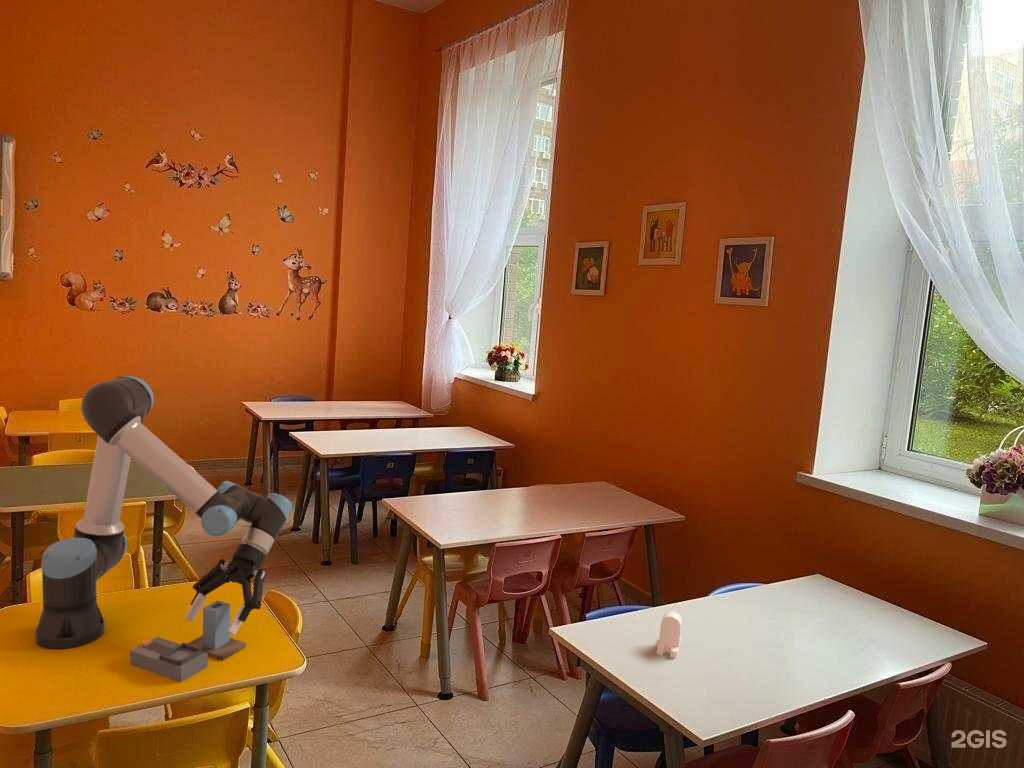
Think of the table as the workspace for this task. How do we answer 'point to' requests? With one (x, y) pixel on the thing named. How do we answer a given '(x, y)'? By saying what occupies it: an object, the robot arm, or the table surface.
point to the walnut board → (220, 648)
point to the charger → (216, 625)
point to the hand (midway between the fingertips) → (209, 626)
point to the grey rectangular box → (169, 658)
